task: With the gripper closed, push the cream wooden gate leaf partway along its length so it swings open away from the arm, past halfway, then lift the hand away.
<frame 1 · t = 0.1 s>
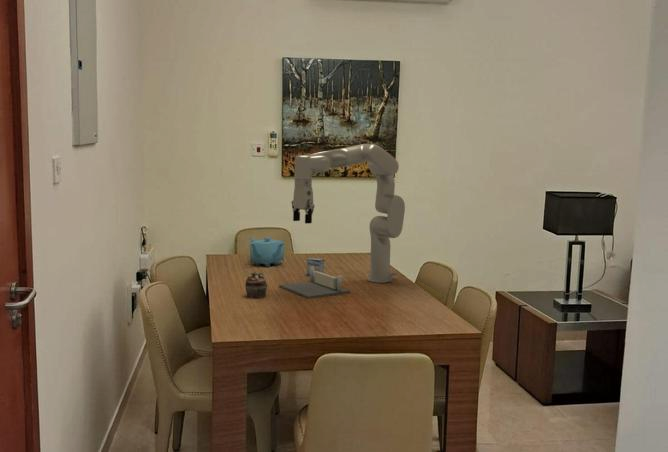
hand: (302, 222, 284), 31 cm above the table, tool pointing down, fingers open, 9 cm apart
medicine box: (315, 276, 321), on the table
gate base: (314, 289, 290), on the table
cupcake: (256, 296, 276), on the table
teakettle: (265, 265, 346), on the table
gate leaf: (325, 279, 293), point 4 cm above the table, hinge at 0.0°
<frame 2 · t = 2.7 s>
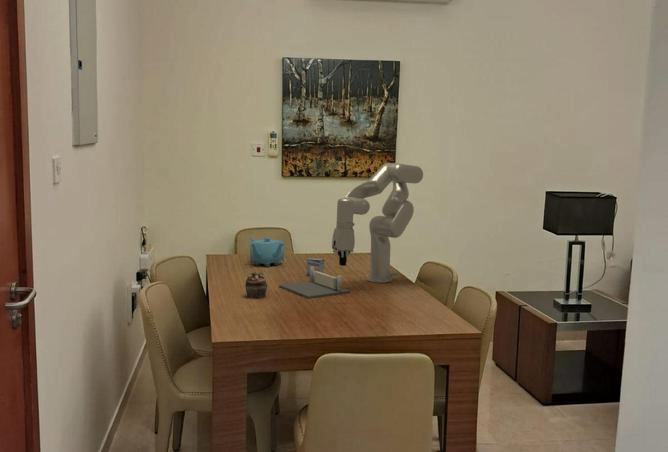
hand: (342, 265, 294), 11 cm above the table, tool pointing down, fingers closed
nothing on the table moved.
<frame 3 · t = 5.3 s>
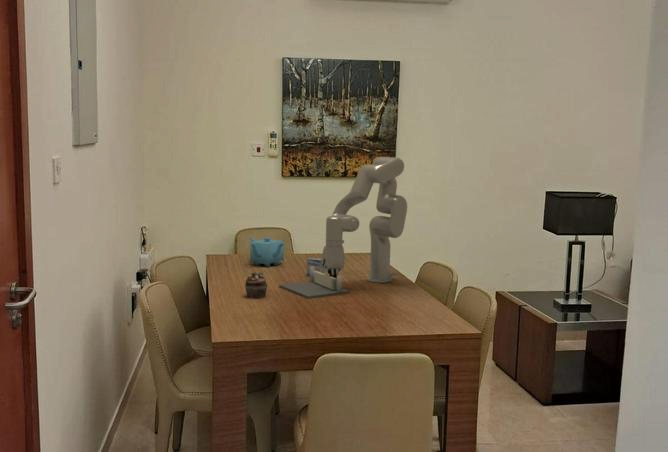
hand: (333, 283, 293), 3 cm above the table, tool pointing down, fingers closed
gate leaf: (324, 280, 293), point 4 cm above the table, hinge at 3.6°, touching gripper
everything else where it was.
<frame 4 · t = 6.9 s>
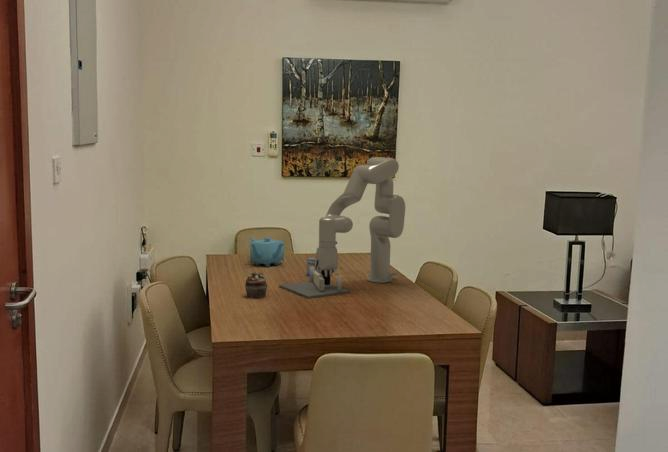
hand: (326, 284, 291), 2 cm above the table, tool pointing down, fingers closed
gate leaf: (318, 280, 292), point 4 cm above the table, hinge at 23.0°, touching gripper
everything else where it was.
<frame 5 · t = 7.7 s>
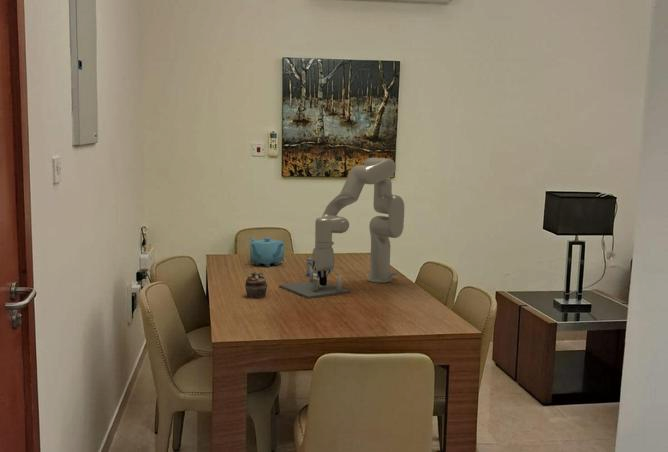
hand: (323, 285, 290), 2 cm above the table, tool pointing down, fingers closed
gate leaf: (315, 280, 291), point 4 cm above the table, hinge at 32.3°, touching gripper
everything else where it was.
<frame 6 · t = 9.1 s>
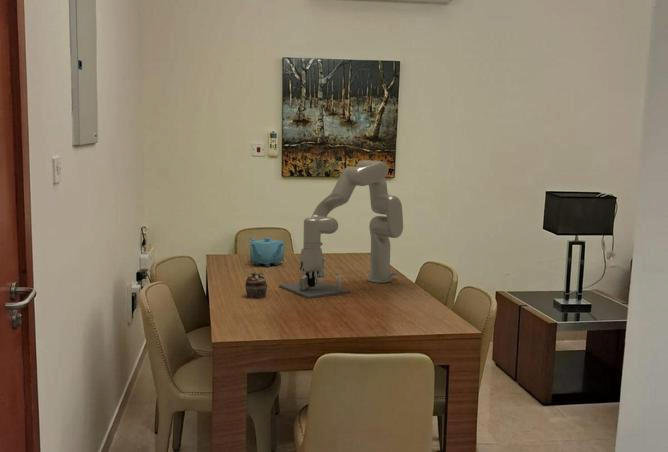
hand: (311, 286, 286), 3 cm above the table, tool pointing down, fingers closed
gate leaf: (308, 280, 292), point 4 cm above the table, hinge at 52.2°
everything else where it was.
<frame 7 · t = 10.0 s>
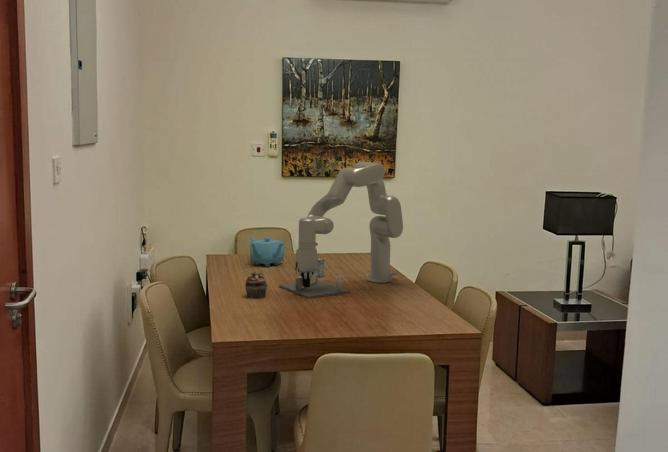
hand: (306, 286, 285), 3 cm above the table, tool pointing down, fingers closed
gate leaf: (307, 279, 292), point 4 cm above the table, hinge at 58.4°, touching gripper
everything else where it was.
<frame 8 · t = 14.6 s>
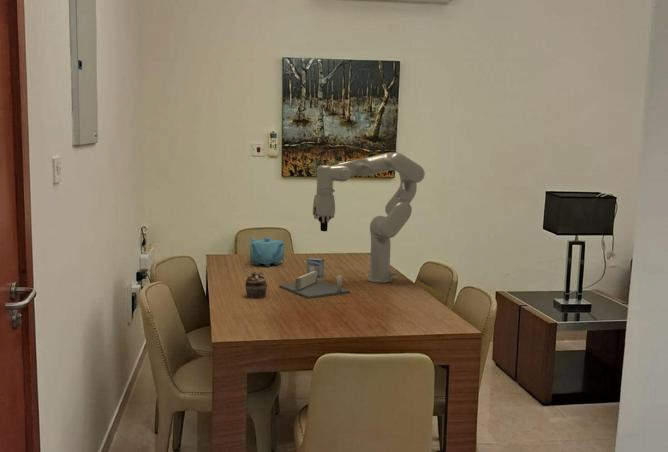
hand: (323, 230, 301), 25 cm above the table, tool pointing down, fingers closed
gate leaf: (307, 279, 292), point 4 cm above the table, hinge at 58.4°
everything else where it was.
at the end: gate leaf at +58° (first picture: +0°); the gripper is holding nothing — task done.
